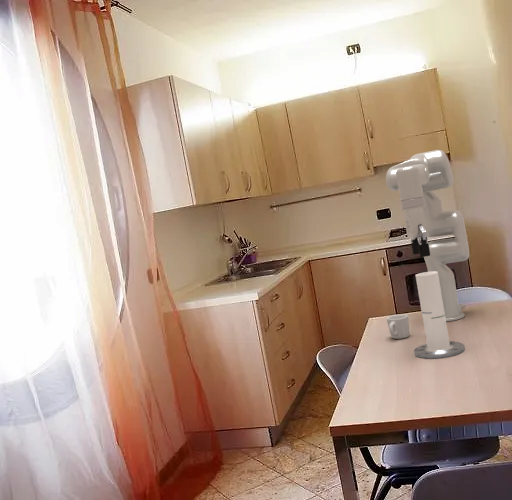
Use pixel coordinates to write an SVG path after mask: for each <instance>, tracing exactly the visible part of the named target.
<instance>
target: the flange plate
mask: <svg viewBox="0 0 512 500" xmlns="http://www.w3.org/2000/svg"><path fill="white" fill-rule="evenodd" d="M449 342H450V348H448V349H445V350H440V351H431V350H428V347H427V343H424V344H422V345H419V346H418V347H416V348H415V349H414V351H413V352H414V356H415V357H416V358H419V359H425V360H434V359H435V360H436V359H437V360H439V359H446V358H450V357H455V356H458V355H460V354H462V353H464V352H465V351H466V350H465V349H466V348H465V344H464V343H463V342H459V341H450V340H449Z"/></svg>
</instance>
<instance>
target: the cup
mask: <svg viewBox="0 0 512 500" xmlns="http://www.w3.org/2000/svg"><path fill="white" fill-rule="evenodd" d="M386 323H387V326H388V329H389V334H390V336H391V338H392V339H395V340H401V339H406V338H408V337H409V335H410V328H409V326H410V324H409V316H408V314H405V313H403V314H402V313H401V314H393V315H390V316H387V317H386Z"/></svg>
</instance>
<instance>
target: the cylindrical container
mask: <svg viewBox="0 0 512 500" xmlns="http://www.w3.org/2000/svg"><path fill="white" fill-rule="evenodd" d="M415 281H416V286H417V287H416V288H417V293H418V299H419V304H420V310H421V316H422V322H423V328H424V335H425V340H426V344H427V347H428V350H431V351H440V350H445V349H448V348H450V342H449V341H450V337H449V331H448V324H447V321H446V318H445V312H444V306H443V300H442V294H441V288H440V282H439V276H438V272H437V271H430V272H428V271H424V272H419V273H417V274H415Z"/></svg>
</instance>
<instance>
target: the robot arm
mask: <svg viewBox="0 0 512 500" xmlns="http://www.w3.org/2000/svg"><path fill="white" fill-rule="evenodd" d="M454 180H455V179H454V173H453V169H452V167H451V163H450V160H449V158H448V156H447V154H446V153H445V151H443V150H441V149H435V150H430V151H424V152H420V153H419V152H418V153H416V154H413V155H412V156H411V157H410V158H409V159H407V160H405V161H404V162H401V163H398V164H396V165H393V166H391V167H389V168H388V170H387V171H386V175H385V182H386V185H387V188H388V189H389V190H390V191H392V192H397V191H398V193H399V199H400V206H401V211H404V212H403V213H404V221H405V222H404V223H405V230H406V237H407V238H408V239H409V240H410V243H411V250H412V254H413V255H419V257H420V258H424V261H425V265H426V268H427V272H430V271H437V272H438V276H439V282H440V288H441V294H442V300H443V306H444V312H445V318H446V322H452V321H457V320H461V319H464V317H465V313H464V312H462V310H464V309H465V308H466V307H467V306H466V304H465V303H463V302H462V303H461V304H460V303H459V299H458V298H459V297H458V291H457V287H456V286H457V285H456V279H455V274H454V272H453V270H452V269H451V268H450V267H448V266H447V264H451V263H452V264H453V263H459V262H464V261H467V260H468V259H469V257H470V249H469V248H470V246H469V242H468V235H467V229H466V224H465V219H464V216H463V213H462V212H461V211H459V210H456V209H454V210H446V211H443V206H442V200H441V198H440V196H438V194H436V193H435V192H434V191H438V190H439V191H440V190H445V189H448V188H450V187H452V186H453V185H454ZM445 236H446V237H447V236H454V237H452V238H444V239H438V240H437V239H436V240H431V241H429V240H428V238H439V237H445Z"/></svg>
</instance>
